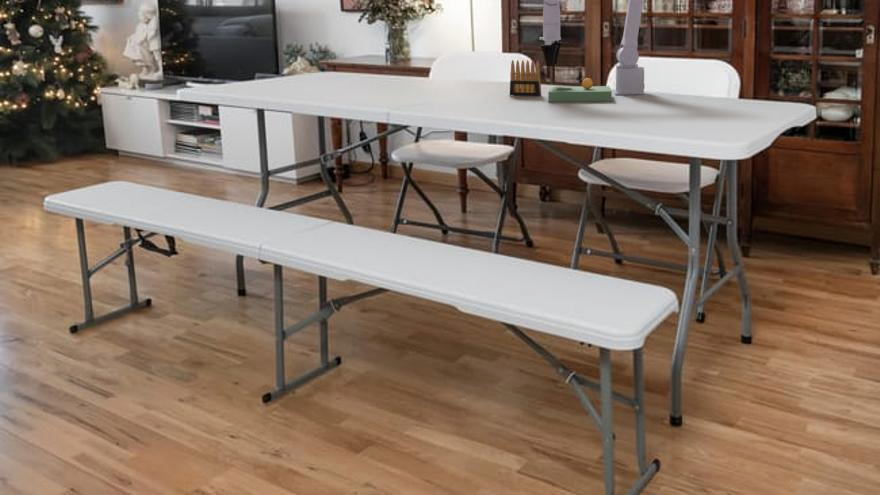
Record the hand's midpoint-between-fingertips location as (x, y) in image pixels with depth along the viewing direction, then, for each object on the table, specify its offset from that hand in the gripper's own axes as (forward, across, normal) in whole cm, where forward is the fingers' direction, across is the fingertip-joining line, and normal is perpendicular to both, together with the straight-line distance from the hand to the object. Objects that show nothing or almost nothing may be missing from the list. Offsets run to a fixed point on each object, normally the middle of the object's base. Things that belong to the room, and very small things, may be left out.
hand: (551, 65), depth 334 cm
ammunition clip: (+10, +2, -9) cm, 14 cm away
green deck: (+10, +10, +11) cm, 18 cm away
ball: (+5, +9, +13) cm, 17 cm away
